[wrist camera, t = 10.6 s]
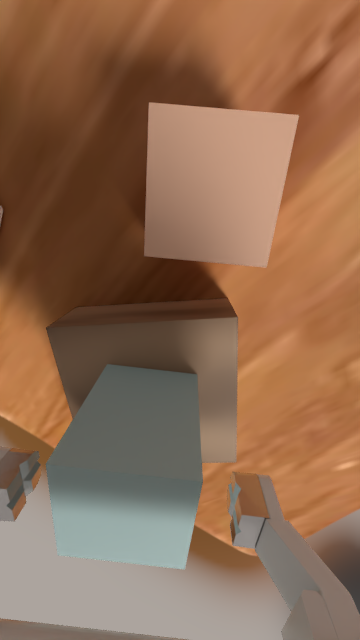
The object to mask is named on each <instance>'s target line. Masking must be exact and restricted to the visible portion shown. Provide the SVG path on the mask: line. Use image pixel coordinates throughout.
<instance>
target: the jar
mask: <svg viewBox="0 0 360 640" xmlns="http://www.w3.org/2000/svg"><path fill="white" fill-rule="evenodd" d="M2 215H3V208H2V206H1V205H0V225H1V220H2Z"/></svg>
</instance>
